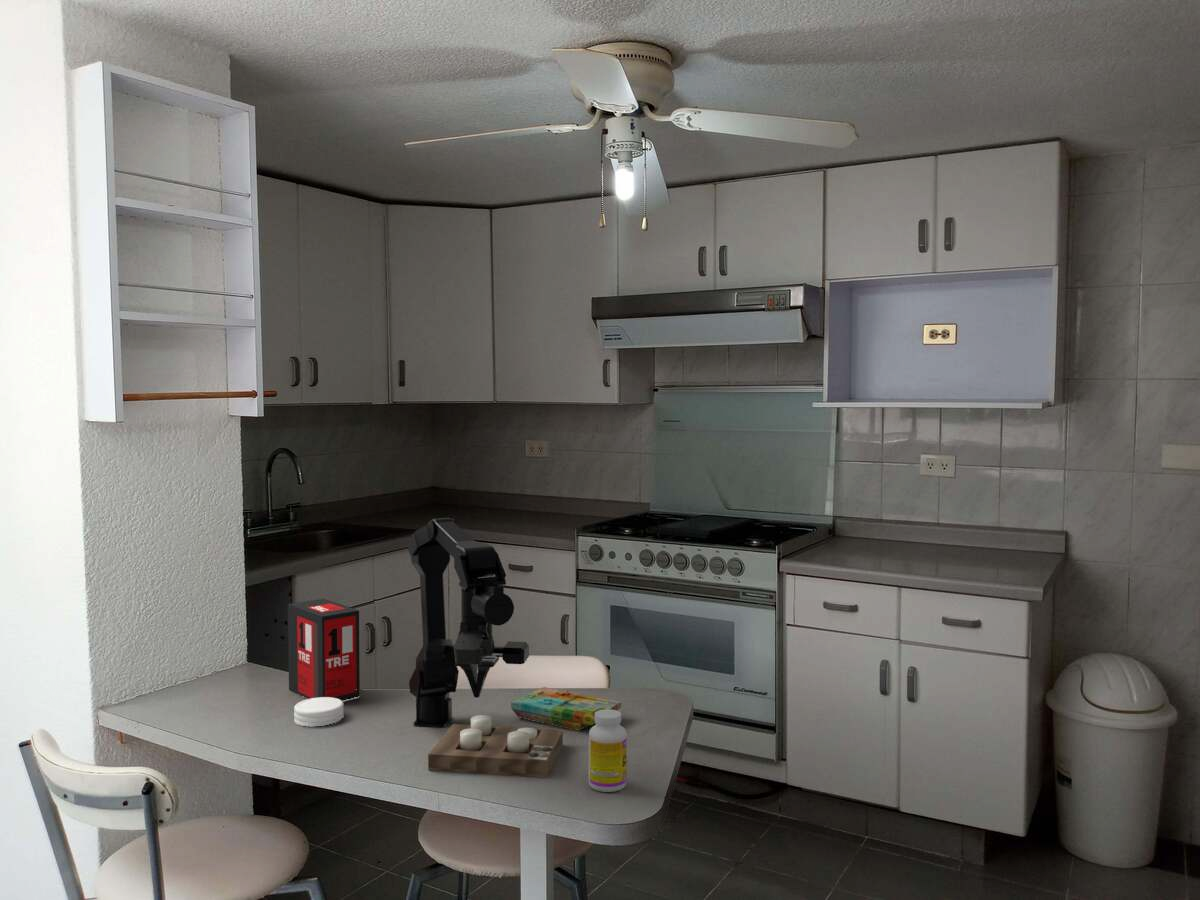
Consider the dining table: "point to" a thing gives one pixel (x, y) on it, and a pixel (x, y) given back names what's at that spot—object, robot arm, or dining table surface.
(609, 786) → the supplement bottle
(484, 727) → the inner button
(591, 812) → the dining table surface
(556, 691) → the puzzle game
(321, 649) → the cleaning product box
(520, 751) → the outer button
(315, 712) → the white short cylinder
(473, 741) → the outer button
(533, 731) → the inner button
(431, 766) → the button board
